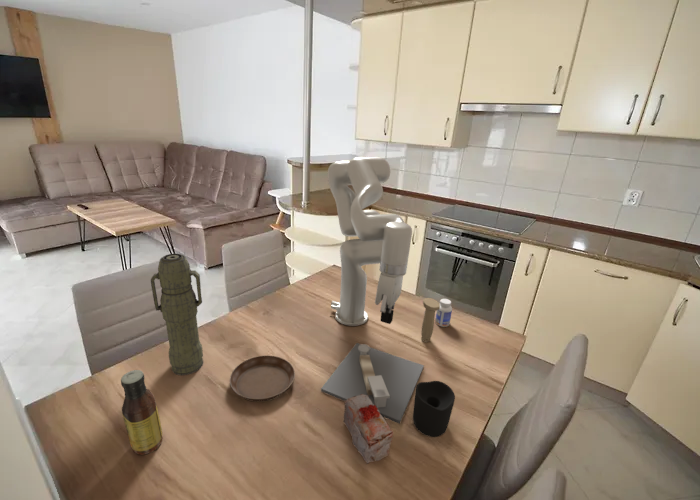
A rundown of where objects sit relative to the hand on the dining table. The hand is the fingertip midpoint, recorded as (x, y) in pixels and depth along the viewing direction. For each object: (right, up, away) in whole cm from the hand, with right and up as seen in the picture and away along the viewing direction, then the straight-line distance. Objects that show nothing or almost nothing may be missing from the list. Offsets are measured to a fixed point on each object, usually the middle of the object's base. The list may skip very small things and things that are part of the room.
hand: (386, 321), depth 103 cm
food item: (-7, -24, -21) cm, 33 cm away
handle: (+16, -11, +19) cm, 27 cm away
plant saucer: (-36, -17, -5) cm, 40 cm away
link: (-6, -16, -2) cm, 17 cm away
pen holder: (+9, -23, -15) cm, 29 cm away
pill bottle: (+25, -7, +29) cm, 39 cm away
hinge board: (-3, -17, -1) cm, 17 cm away
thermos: (-59, -13, 0) cm, 61 cm away
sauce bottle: (-57, -23, -25) cm, 66 cm away
